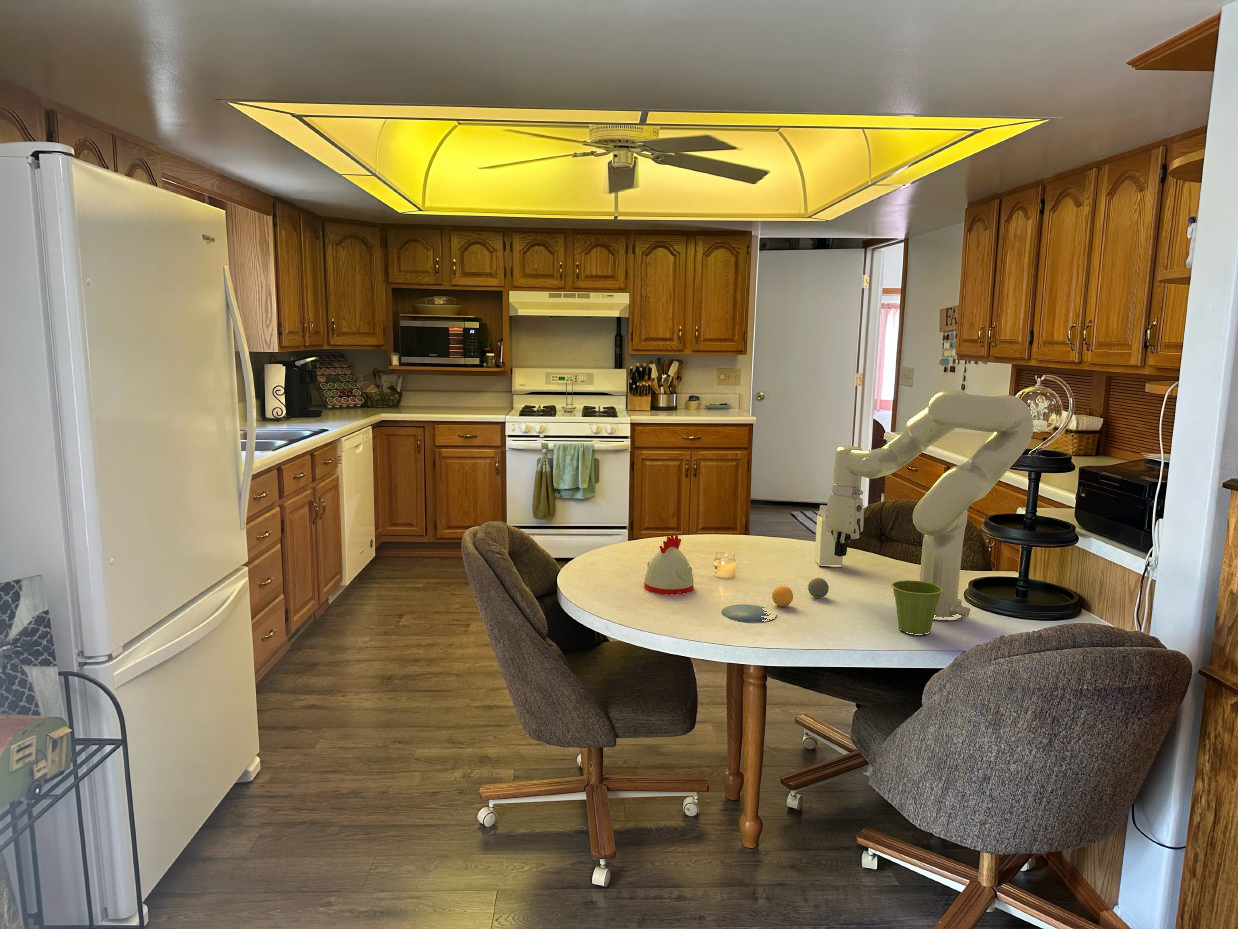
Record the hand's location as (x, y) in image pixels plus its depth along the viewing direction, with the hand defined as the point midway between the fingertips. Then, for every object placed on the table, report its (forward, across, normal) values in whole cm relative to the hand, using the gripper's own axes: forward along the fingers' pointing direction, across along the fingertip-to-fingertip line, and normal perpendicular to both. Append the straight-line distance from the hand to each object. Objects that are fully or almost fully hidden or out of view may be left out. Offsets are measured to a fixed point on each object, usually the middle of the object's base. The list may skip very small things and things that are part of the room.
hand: (840, 555), depth 232 cm
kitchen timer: (+12, +28, +38) cm, 49 cm away
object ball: (+8, -1, +23) cm, 25 cm away
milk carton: (+11, +21, -21) cm, 32 cm away
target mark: (+11, -1, +35) cm, 37 cm away
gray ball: (+8, -1, +9) cm, 12 cm away
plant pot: (+10, -32, +10) cm, 35 cm away
